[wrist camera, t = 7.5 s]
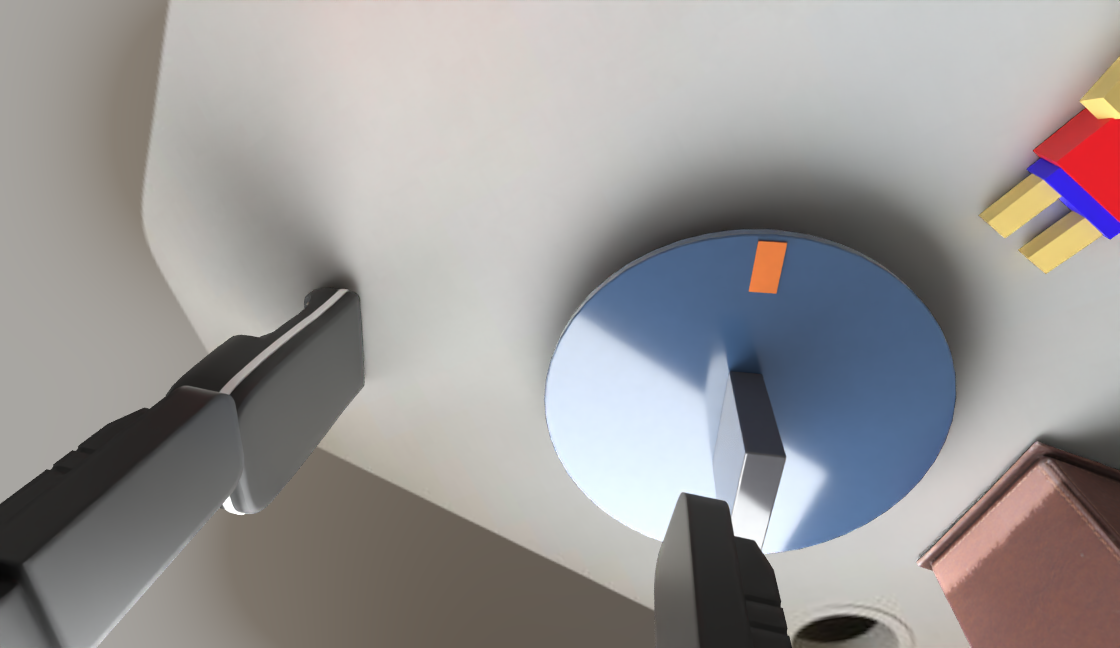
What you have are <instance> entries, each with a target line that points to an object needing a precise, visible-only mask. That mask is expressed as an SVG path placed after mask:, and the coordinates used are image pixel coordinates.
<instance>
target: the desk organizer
mask: <svg viewBox="0 0 1120 648" xmlns="http://www.w3.org/2000/svg"><path fill="white" fill-rule="evenodd" d="M916 563H917V565H918V566H920V567H923V568H926V569H929V570H932V571H933V572H934V574H935V576H936V578H937V580H938V582H939V584H940V586H941V588H942V590H943V592H944V594H945V597H946V599H947V601H948V602H949V604H950V606H951V608H952V610H953V612H954V614H955V616H956V618H957V620H958V622H959V624H960V626H961V628H962V630H963V632H964V634H965V636H966V638H967V640H968V642H969V644H970V646H971V648H1120V470H1117V469H1114V468H1112V467H1109V466H1106V465H1103V464H1101V463H1098V462H1095V461H1092V460H1089V459H1086V458H1083V457H1080V456H1077V455H1075V454H1072V453H1069V452H1066V451H1063V450H1060V449H1057V448H1055V447H1052V446H1049V445H1046V444H1043V443H1041V442H1039V441H1036V442H1034V443H1033V445H1032V446H1031V447H1030V448H1029V449H1028V450H1027V451H1026V452H1025V453H1024V454H1023V455H1022V456H1021V457H1020V458H1019V459H1018V460H1017V461H1016V463H1015V464H1014V465H1013V466H1012V467H1011V468H1010V469H1009V470H1008V471H1007V472H1006V473H1005V474H1004V475H1003V476H1002V477H1001V478H1000V479H999V480H998V481H997V482H996V483H995V484H994V485H993V486H992V487H991V489H990V490H989V491H988V492H987V493H986V494H985V495H984V496H983V497H982V498H981V499H980V500H979V501H978V502H977V503H976V504H975V505H974V506H973V507H972V508H971V509H970V510H969V511H968V512H967V513H966V514H965V515H964V516H963V517H962V518H961V519H960V520H959V521H958V522H957V523H956V524H955V525H954V526H953V527H952V528H951V529H950V530H949V531H948V532H947V533H946V534H945V535H944V536H943V537H942V538H941V539H940V540H939V541H938V542H937V543H936V544H935V545H934V546H933V547H932V548H931V549H930V550H929V551H928V552H927V553H926V554H924V555H923V556H922V557H921V558H920V559H919V560H918V561H917V562H916Z"/></svg>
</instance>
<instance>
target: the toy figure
mask: <svg viewBox="0 0 1120 648" xmlns="http://www.w3.org/2000/svg"><path fill="white" fill-rule="evenodd" d="M1080 102H1081V103H1082V104H1083V105H1084V106H1085V107H1086V108H1085V109H1084V110H1082V111H1081V112H1080V113H1079V114H1077V115H1076V116H1075V117H1074V118H1072V119H1071V120H1070V121H1069V122H1068V123H1066V124H1065V125H1064V126H1063V127H1061V128H1060V129H1059V130H1058V131H1056V132H1055V133H1054V134H1053V135H1051V136H1050V137H1049V138H1048V139H1046V140H1045V141H1044V142H1043V143H1041V144H1040V145H1039V146H1038V147H1036V148H1035V149H1034V150H1033V152H1035V153H1036V154H1037V155H1038V156H1039V157H1040V159H1039V160H1037V161H1036V162H1035V163H1034V164H1032V165H1031V166H1030V167H1029V168H1027V170H1028V171H1029V172H1030V173H1031V174H1030V175H1029V176H1028V177H1027V178H1025V179H1024V180H1023V181H1022V182H1020V183H1019V184H1018V185H1016V186H1015V187H1014V188H1013V189H1011V190H1010V191H1009V192H1007V193H1006V194H1005V195H1004V196H1002V197H1001V198H1000V199H999V200H997V201H996V202H995V203H993V204H992V205H991V206H990V207H988V208H987V209H986V210H985V211H983V212H982V213H981V214H979V215H978V216H980V217H981V218H982V219H983V220H984V221H985V222H986V223H988V224H989V225H990V226H991V227H992V228H993V229H994V230H996V231H997V232H998V233H999V234H1000V235H1002V236H1003V237H1004V238H1006V237H1008V236H1009V235H1010V234H1012V233H1013V232H1015V231H1016V230H1017V229H1019V228H1020V227H1021V226H1023V225H1024V224H1025V223H1027V222H1028V221H1029V220H1031V219H1032V218H1033V217H1035V216H1036V215H1037V214H1039V213H1040V212H1041V211H1043V210H1044V209H1046V208H1047V207H1048V206H1050V205H1051V204H1052V203H1054V202H1055V201H1056V200H1058V199H1059V200H1060V201H1061V202H1063V203H1064V204H1065V205H1066V206H1067V207H1068V208H1069V209H1070V210H1071V212H1070V213H1068V214H1067V215H1066V216H1064V217H1063V218H1061V219H1060V220H1059V221H1057V222H1056V223H1055V224H1053V225H1052V226H1050V227H1049V228H1048V229H1046V230H1045V231H1043V232H1042V233H1041V234H1039V235H1038V236H1037V237H1035V238H1034V239H1032V240H1031V241H1030V242H1028V243H1027V244H1025V245H1024V246H1023V247H1021V248H1020V249H1019V250H1018V251H1019V252H1021V253H1022V254H1023V255H1024V256H1025V257H1026V258H1027V259H1029V260H1030V261H1031V262H1032V263H1033V264H1034V265H1035V266H1037V267H1038V268H1039V269H1040V270H1042V271H1043V272H1044V273H1045V274H1047V273H1048V272H1050V271H1051V270H1053V269H1054V268H1055V267H1057V266H1058V265H1060V264H1061V263H1063V262H1064V261H1066V260H1067V259H1069V258H1070V257H1072V256H1073V255H1075V254H1076V253H1077V252H1079V251H1080V250H1082V249H1083V248H1085V247H1086V246H1088V245H1089V244H1091V243H1092V242H1094V241H1095V240H1097V239H1098V238H1099V237H1101V236H1102V235H1103V236H1105V237H1107V238H1108V239H1111V238H1113V237H1114V236H1116V235H1117V234H1119V233H1120V56H1119V57H1118V58H1117V60H1116V61H1115V62H1114V63H1113V64H1112V65H1111V66H1110V67H1109V68H1108V70H1107V71H1106V72H1105V73H1104V74H1103V75H1102V76H1101V77H1100V78H1099V79H1098V81H1097V82H1096V83H1095V84H1094V85H1093V86H1092V87H1091V88H1090V89H1089V91H1088V92H1087V93H1086V94H1085V95H1084V96H1083V97H1082V98H1081V99H1080Z"/></svg>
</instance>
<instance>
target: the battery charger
mask: <svg viewBox="0 0 1120 648" xmlns="http://www.w3.org/2000/svg"><path fill="white" fill-rule="evenodd" d="M181 386H192V387H196V388H201V389H206V390H211V391H215V392H220V393H225V394H229V395H230V396H232V398H233V399H234V401H235V405H236V410H237V417H238V423H239V429H240V435H241V441H242V447H243V453H244V468H243V472H242V475H241V478H240V480H239V483H238V485H237V486H236V488H235V490H234V491H233V492H232V494H231V495H230V496H229V497H228V498H227V500H226V501H225V502H224V503H223V504H222V505H221V506H220V507H219V508H222V509H226V510H227V511H228V512H230V513H235V514H240V515H242V514H253V513H258V512H260V511H261V510H263V509H264V508H266V507H267V506H268V504H270V503H271V502H272V501H273V500H274V498H275V497H276V496H277V495H278V494H279V492H280V491H281V490H282V489H283V488H284V487H285V485H286V484H287V483H288V482H289V481H290V479H291V478H292V477H293V476H294V474H295V473H296V472H297V471H298V469H299V468H300V467H301V466H302V465H303V463H304V462H305V461H306V459H307V458H308V457H309V456H310V454H311V453H312V452H313V450H314V449H315V448H316V447H317V445H318V444H319V443H320V441H321V440H322V439H323V437H324V436H325V435H326V433H327V432H328V431H329V429H330V428H331V427H332V425H333V424H334V423H335V421H336V420H337V419H338V417H339V416H340V415H341V413H342V412H343V411H344V410H345V408H346V407H347V406H348V405H349V403H350V402H351V401H352V400H353V399H354V397H355V396H356V395H357V394H358V393H359V391H360V390H361V389H362V388H363V386H364V361H363V341H362V326H361V311H360V299H359V296H358V295H357V294H356V293H353V292H350V291H349V290H347V289H340V290H338V289H333V288H319V289H315V290H313V291H311V292H310V293H309V294H308V295H307V296H306V297H305V300H304V310H302V311H301V312H300V313H299V314H298V315H296V316H295V317H293V318H292V319H291V320H289V321H288V322H286V323H285V324H284V325H282V326H281V327H279V328H278V329H277V330H275V331H274V332H272V333H269V334H267V335H264V336H261V337H260V338H259V337H253V336H247V335H237V336H233V337H231V338H230V339H228V340H227V341H226V342H224V343H223V344H222V345H220V346H219V347H217V348H216V349H215V350H214V351H212V352H211V353H210V354H209V355H207V356H206V357H205V358H204V359H202V360H201V361H200V362H199V363H198V364H196V365H195V366H194V367H193V368H192V369H190V370H189V371H188V372H187V373H186V374H184V375H183V376H182V377H181V378H180V379H179V380H178V381H177V382H176V383H175V384H174V385H173V386H172V387H171V389H170V390H169V392H168V393H167V394H166V396H167V395H168V394H170V393H171V392H172V391H173V390H175V389H176V388H179V387H181Z"/></svg>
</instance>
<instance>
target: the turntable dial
mask: <svg viewBox="0 0 1120 648" xmlns="http://www.w3.org/2000/svg"><path fill="white" fill-rule="evenodd" d="M544 402H545V414H546V422H547V426H548V430H549V434H550V438H551V441H552V443H553V446H554V448H555V451H556V453H557V456H558V458H559V459H560V461H561V463H562V465H563V466H564V468H565V470H566V471H567V473H568V474H569V476H570V477H571V478H572V480H573V481H574V482H575V483H576V485H577V486H578V487H579V489H580V490H581V491H582V492H583V493H584V494H585V495H586V496H587V497H588V498H589V499H590V500H591V501H592V502H593V503H595V504H596V505H597V506H598V507H600V508H601V509H602V510H603V511H605V512H606V513H607V514H608V515H610V516H611V517H613V518H615V519H616V520H618V521H619V522H621V523H622V524H624V525H626V526H627V527H629V528H631V529H633V530H635V531H638V532H640V533H642V534H644V535H646V536H648V537H651V538H654V539H656V540H659V541H662V542H663V540H664V537H665V534H666V531H667V528H668V526H669V523H670V520H671V517H672V514H673V511H674V509H675V506H676V503H677V500H678V498H679V496H680V494H681V493H682V492H685V493H690V494H695V495H699V496H704V497H709V498H713V499H718V500H723V501H726V502H727V503H728V506H729V509H730V514H731V520H732V525H733V531H734V536H737V537H742V538H747V539H751V540H755V541H756V543H757V545H758V546H759V548H760V549H761V551H762V552H763V554H770V553H780V552H785V551H791V550H797V549H802V548H806V547H809V546H813V545H817V544H820V543H824V542H826V541H829V540H832V539H834V538H837V537H840V536H842V535H845V534H847V533H849V532H851V531H853V530H855V529H857V528H859V527H861V526H863V525H865V524H867V523H869V522H870V521H872V520H874V519H875V518H877V517H878V516H880V515H882V514H883V513H885V512H886V511H888V510H889V509H890V508H891V507H893V506H894V505H895V504H896V503H898V502H899V501H900V500H901V499H903V498H904V497H905V496H906V495H907V494H908V493H909V492H910V491H911V490H912V489H913V488H914V487H915V486H916V485H917V484H918V483H919V482H920V480H921V479H922V478H923V477H924V475H925V474H926V473H927V471H928V470H929V468H930V467H931V466H932V464H933V463H934V462H935V460H936V458H937V456H938V454H939V452H940V450H941V449H942V447H943V445H944V443H945V441H946V438H947V435H948V432H949V429H950V426H951V423H952V420H953V414H954V408H955V402H956V374H955V369H954V364H953V359H952V354H951V351H950V348H949V346H948V343H947V341H946V338H945V336H944V334H943V331H942V329H941V327H940V326H939V324H938V323H937V321H936V319H935V318H934V316H933V315H932V313H931V312H930V310H929V309H928V307H927V306H926V305H925V304H924V303H923V302H922V301H921V300H920V298H919V297H918V296H917V295H916V294H915V293H914V292H913V291H912V290H911V289H910V288H909V286H908V285H907V284H906V283H905V282H904V281H902V280H901V279H900V278H898V277H897V276H896V275H895V274H893V273H892V272H891V271H890V270H888V269H887V268H886V267H885V266H883V265H882V264H880V263H878V262H876V261H875V260H873V259H871V258H869V257H868V256H866V255H864V254H862V253H861V252H859V251H856V250H854V249H851V248H849V247H846V246H844V245H841V244H839V243H836V242H834V241H831V240H827V239H824V238H820V237H816V236H812V235H808V234H804V233H798V232H789V231H781V230H773V229H738V230H730V231H722V232H714V233H708V234H703V235H699V236H695V237H691V238H687V239H683V240H679V241H677V242H674V243H671V244H669V245H666V246H664V247H661V248H658V249H656V250H653V251H651V252H649V253H647V254H645V255H643V256H642V257H640V258H638V259H636V260H634V261H632V262H630V263H628V264H627V265H625V266H624V267H623V268H621V269H620V270H618V271H617V272H615V273H614V274H613V275H611V276H610V277H608V278H607V279H606V280H605V281H603V282H602V283H601V284H600V285H599V286H598V287H597V288H596V289H595V290H594V291H593V292H591V293H590V294H589V295H588V296H587V297H586V299H585V300H584V301H583V302H582V304H581V305H580V306H579V307H578V308H577V310H576V311H575V312H574V313H573V315H572V316H571V318H570V320H569V321H568V323H567V325H566V326H565V328H564V329H563V331H562V333H561V335H560V337H559V340H558V342H557V344H556V347H555V349H554V352H553V354H552V357H551V361H550V365H549V369H548V373H547V377H546V385H545V398H544Z"/></svg>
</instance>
